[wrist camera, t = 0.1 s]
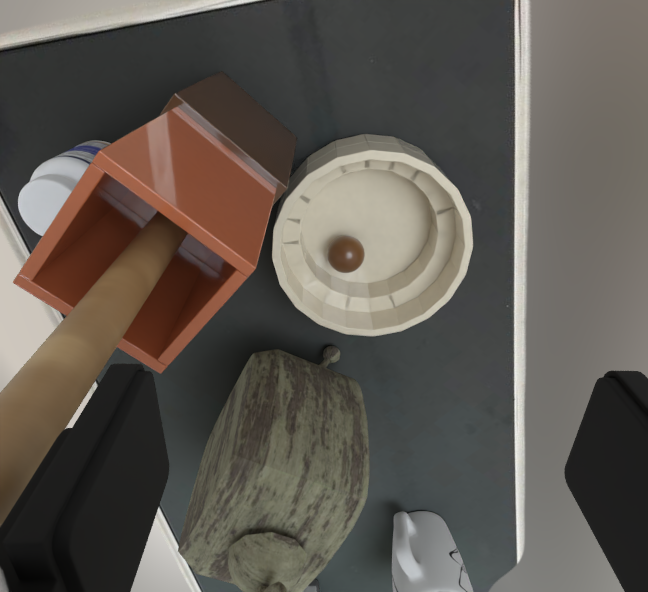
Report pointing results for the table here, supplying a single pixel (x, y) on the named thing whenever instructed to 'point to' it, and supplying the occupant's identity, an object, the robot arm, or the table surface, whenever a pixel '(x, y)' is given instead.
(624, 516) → the robot arm
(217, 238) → the brown boxy piece
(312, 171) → the bowl
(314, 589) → the jigsaw machine
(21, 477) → the stirring stick
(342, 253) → the brown ball
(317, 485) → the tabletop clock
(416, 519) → the mug
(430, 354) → the table surface
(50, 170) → the pill bottle
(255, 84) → the table surface
